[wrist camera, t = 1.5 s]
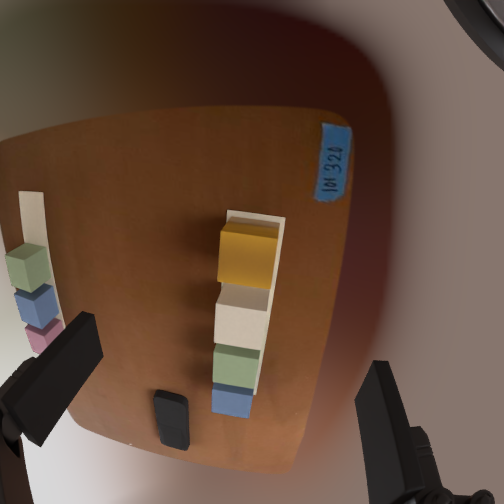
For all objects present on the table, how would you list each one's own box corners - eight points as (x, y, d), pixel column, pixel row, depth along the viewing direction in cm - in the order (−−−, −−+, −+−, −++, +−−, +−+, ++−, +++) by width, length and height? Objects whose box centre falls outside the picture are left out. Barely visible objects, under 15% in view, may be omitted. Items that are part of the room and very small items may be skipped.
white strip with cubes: (227, 209, 27) (215, 223, 22) (285, 217, 26) (284, 233, 22) (215, 387, 35) (208, 413, 31) (255, 394, 35) (251, 420, 31)
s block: (231, 215, 27) (220, 230, 23) (280, 222, 26) (278, 238, 22) (227, 260, 28) (216, 281, 24) (273, 267, 28) (270, 290, 24)
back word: (19, 191, 29) (-6, 199, 24) (43, 192, 28) (17, 201, 24) (47, 336, 37) (32, 352, 33) (71, 345, 37) (55, 363, 33)
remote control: (156, 385, 38) (163, 439, 43) (152, 394, 36) (160, 446, 41) (189, 394, 37) (189, 446, 43) (185, 403, 36) (187, 454, 41)
